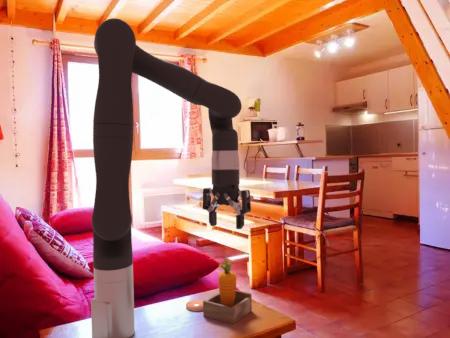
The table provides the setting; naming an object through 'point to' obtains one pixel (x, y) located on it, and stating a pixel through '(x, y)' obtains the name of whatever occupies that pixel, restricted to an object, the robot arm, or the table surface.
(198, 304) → the peach dome
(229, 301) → the carrot
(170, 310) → the table surface
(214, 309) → the brown open box
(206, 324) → the table surface
